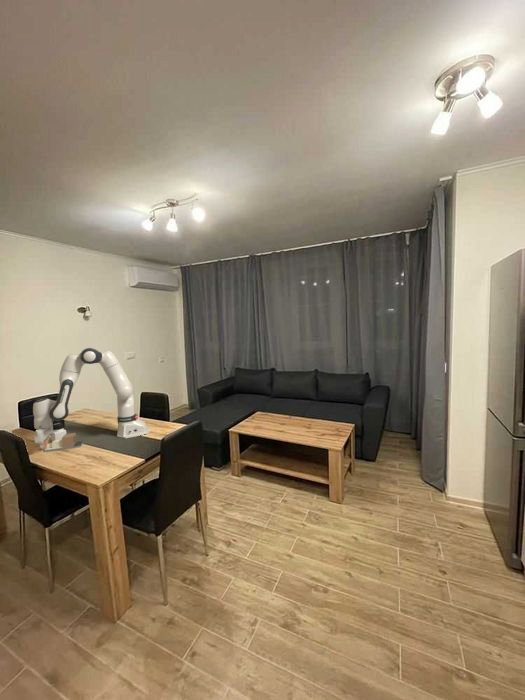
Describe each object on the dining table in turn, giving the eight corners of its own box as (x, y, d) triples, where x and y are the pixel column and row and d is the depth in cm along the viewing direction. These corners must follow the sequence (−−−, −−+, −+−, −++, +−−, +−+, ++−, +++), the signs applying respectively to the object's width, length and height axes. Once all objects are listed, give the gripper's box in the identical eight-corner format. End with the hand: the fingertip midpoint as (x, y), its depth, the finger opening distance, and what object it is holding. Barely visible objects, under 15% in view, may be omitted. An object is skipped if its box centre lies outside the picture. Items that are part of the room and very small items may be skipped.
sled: (64, 444, 192) (64, 436, 191) (63, 446, 188) (62, 438, 188) (43, 446, 188) (42, 438, 187) (41, 449, 184) (40, 441, 184)
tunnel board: (83, 442, 197) (82, 431, 196) (80, 447, 190) (79, 436, 189) (48, 447, 190) (47, 435, 190) (44, 452, 183) (43, 440, 182)
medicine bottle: (67, 440, 202) (65, 423, 201) (55, 443, 196) (54, 426, 195) (62, 437, 206) (61, 421, 205) (51, 441, 200) (49, 424, 199)
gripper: (42, 428, 176) (44, 450, 177) (54, 418, 195) (55, 438, 197) (30, 430, 174) (32, 452, 175) (43, 419, 193) (44, 439, 195)
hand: (44, 444), depth 186 cm, fingers open, 7 cm apart
